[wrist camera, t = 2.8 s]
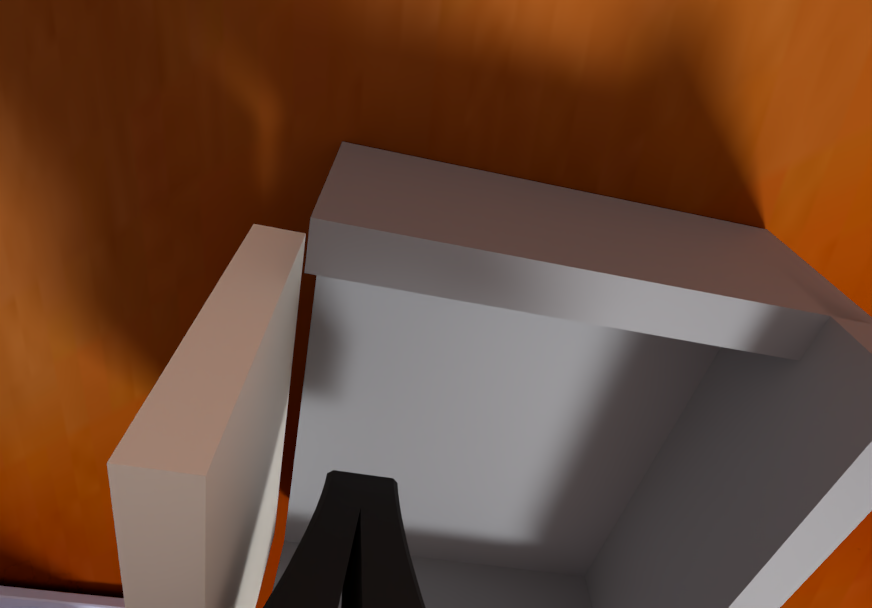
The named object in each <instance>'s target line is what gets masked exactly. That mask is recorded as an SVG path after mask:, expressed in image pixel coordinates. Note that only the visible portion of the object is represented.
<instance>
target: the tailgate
mask: <svg viewBox="0 0 872 608" xmlns="http://www.w3.org/2000/svg"><path fill="white" fill-rule="evenodd" d="M305 238H306V233H301V232H295V231H290V230H285V229H279V228H274V227H268V226H263V225H258V224H253V226H252V227H251V229H250V231H249V232H248V234H247V236H246V237H245V239H244V240H243V242H242V244H241V245H240V247H239V249H238V250H237V252H236V253H235V255H234V257H233V258H232V260H231V262H230V263H229V265H228V266H227V268H226V270H225V271H224V273H223V275H222V276H221V278H220V280H219V281H218V283H217V284H216V286H215V288H214V289H213V291H212V293H211V294H210V296H209V297H208V299H207V301H206V302H205V304H204V306H203V307H202V309H201V310H200V312H199V314H198V315H197V317H196V319H195V320H194V322H193V324H192V325H191V327H190V328H189V330H188V332H187V333H186V335H185V337H184V338H183V340H182V341H181V343H180V345H179V346H178V348H177V350H176V351H175V353H174V354H173V356H172V358H171V359H170V361H169V363H168V364H167V366H166V368H165V369H164V371H163V372H162V374H161V376H160V377H159V379H158V381H157V382H156V384H155V385H154V387H153V389H152V390H151V392H150V394H149V395H148V397H147V398H146V400H145V402H144V403H143V405H142V407H141V408H140V410H139V412H138V413H137V415H136V416H135V418H134V420H133V421H132V423H131V425H130V426H129V428H128V429H127V431H126V433H125V434H124V436H123V438H122V439H121V441H120V442H119V444H118V446H117V447H116V449H115V451H114V452H113V454H112V456H111V457H110V459H109V460H108V462H107V468H108V476H109V484H110V492H111V500H112V508H113V516H114V524H115V532H116V540H117V548H118V556H119V564H120V571H121V579H122V587H123V595H124V603H125V608H255V607H256V603H257V599H258V595H259V591H260V587H261V583H262V579H263V575H264V572H265V568H266V564H267V560H268V556H269V552H270V548H271V544H272V540H273V537H274V532H275V522H276V513H277V503H278V494H279V484H280V475H281V465H282V456H283V446H284V437H285V427H286V418H287V408H288V399H289V389H290V380H291V370H292V361H293V351H294V342H295V332H296V323H297V313H298V304H299V294H300V285H301V276H302V266H303V257H304V247H305Z"/></svg>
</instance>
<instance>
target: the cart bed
mask: <svg viewBox="0 0 872 608" xmlns="http://www.w3.org/2000/svg"><path fill="white" fill-rule="evenodd" d="M304 273H307V274H312V275H317V276H316V285H315V293H314V301H313V309H312V318H311V326H310V334H309V342H308V351H307V359H306V367H305V375H304V384H303V392H302V400H301V408H300V417H299V425H298V433H297V441H296V450H295V458H294V466H293V474H292V482H291V491H290V499H289V507H288V515H287V524H286V532H285V540H284V545H283V549H282V553H281V557H280V562H279V566H278V570H277V574H276V579H275V583H274V587H273V590H274V588H275V587H276V585H277V583H278V582H279V580H280V578H281V577H282V575H283V573H284V571H285V570H286V568H287V566H288V564H289V562H290V560H291V558H292V556H293V554H294V553H295V551H296V549H297V547H298V545H299V543H300V541H301V539H302V537H303V535H304V533H305V531H306V529H307V527H308V525H309V522H310V520H311V518H312V516H313V513H314V511H315V509H316V506H317V504H318V501H319V499H320V496H321V493H322V490H323V487H324V484H325V480H326V476H327V473H329V472H331V471H333V470H337V471H344V472H351V473H358V474H366V475H373V476H380V477H388V478H393V479H394V480H395V481H396V482H397V483H398V495H399V502H400V509H401V515H402V520H403V525H404V530H405V534H406V539H407V543H408V548H409V552H410V556H411V559H412V563H413V567H414V570H415V574H416V577H417V581H418V584H419V588H420V591H421V594H422V598H423V601H424V604H425V607H426V608H780V607H781V606H782V605H783V604H784V603H785V602H786V601H787V599H788V598H789V597H790V596H791V595H792V594H793V593H794V592H795V591H796V590H797V589H798V588H799V587H800V586H801V585H802V584H803V583H804V582H805V580H806V579H807V578H808V577H809V576H810V575H811V574H812V573H813V572H814V571H815V570H816V569H817V568H818V567H819V566H820V565H821V564H822V562H823V561H824V560H825V559H826V558H827V557H828V556H829V555H830V554H831V553H832V552H833V551H834V550H835V549H836V548H837V547H838V546H839V544H840V543H841V542H842V541H843V540H844V539H845V538H846V537H847V536H848V535H849V534H850V533H851V532H852V531H853V530H854V529H855V528H856V526H857V525H858V524H859V523H860V522H861V521H862V520H863V519H864V518H865V517H866V516H867V515H868V514H869V513H870V512H871V511H872V317H870V316H869V315H868V314H867V313H866V312H864V311H863V310H862V309H861V308H860V307H859V306H857V305H856V304H855V303H854V302H853V301H851V300H850V299H849V298H848V297H847V296H845V295H844V294H843V293H842V292H841V291H839V290H838V289H837V288H836V287H835V286H834V285H832V284H831V283H830V282H829V281H828V280H826V279H825V278H824V277H823V276H822V275H820V274H819V273H818V272H817V271H816V270H815V269H813V268H812V267H811V266H810V265H809V264H807V263H806V262H805V261H804V260H803V259H801V258H800V257H799V256H798V255H797V254H795V253H794V252H793V251H792V250H791V249H790V248H788V247H787V246H786V245H785V244H784V243H782V242H781V241H780V240H779V239H778V238H776V237H775V236H774V235H773V234H772V233H770V232H769V231H768V230H767V229H762V228H757V227H752V226H748V225H743V224H738V223H733V222H728V221H724V220H719V219H714V218H709V217H704V216H699V215H695V214H690V213H685V212H680V211H675V210H671V209H666V208H661V207H656V206H651V205H646V204H642V203H637V202H632V201H627V200H622V199H617V198H613V197H608V196H603V195H598V194H593V193H589V192H584V191H579V190H574V189H569V188H564V187H560V186H555V185H550V184H545V183H540V182H536V181H531V180H526V179H521V178H516V177H511V176H507V175H502V174H497V173H492V172H487V171H483V170H478V169H473V168H468V167H463V166H458V165H454V164H449V163H444V162H439V161H434V160H430V159H425V158H420V157H415V156H410V155H405V154H401V153H396V152H391V151H386V150H381V149H376V148H372V147H367V146H362V145H357V144H352V143H348V142H343V141H342V144H341V146H340V148H339V151H338V153H337V156H336V158H335V160H334V163H333V165H332V167H331V170H330V172H329V175H328V177H327V179H326V182H325V184H324V186H323V189H322V191H321V194H320V196H319V198H318V201H317V203H316V205H315V208H314V210H313V213H312V215H311V217H310V226H309V235H308V244H307V254H306V263H305V272H304ZM272 592H273V591H272ZM341 600H342V593H341V597H340V602H339V606H338V608H341Z"/></svg>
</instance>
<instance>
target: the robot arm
mask: <svg viewBox="0 0 872 608" xmlns="http://www.w3.org/2000/svg"><path fill="white" fill-rule="evenodd" d="M341 593H342V600H341V608H426V607H425V604H424V601H423V598H422V594H421V591H420V588H419V584H418V581H417V577H416V574H415V570H414V567H413V563H412V559H411V556H410V552H409V548H408V543H407V539H406V534H405V530H404V525H403V520H402V515H401V509H400V502H399V495H398V483H397V482H396V481H395V480H394V479H393V478H388V477H380V476H373V475H366V474H358V473H351V472H344V471H337V470H333V471H331V472H329V473H327V476H326V480H325V484H324V487H323V490H322V493H321V496H320V499H319V501H318V504H317V506H316V509H315V511H314V513H313V516H312V518H311V520H310V522H309V525H308V527H307V529H306V531H305V533H304V535H303V537H302V539H301V541H300V543H299V545H298V547H297V549H296V551H295V553H294V554H293V556H292V558H291V560H290V562H289V564H288V566H287V568H286V570H285V571H284V573H283V575H282V577H281V578H280V580H279V582H278V583H277V585H276V587H275V588H274V590H273V592H272V594H271V595H270V597H269V599H268V600H267V602H266V604H265V605H264V607H263V608H338V606H339V602H340V597H341ZM0 608H125V603H124V598H117V597H107V596H97V595H87V594H78V593H68V592H58V591H48V590H39V589H29V588H19V587H9V586H0Z"/></svg>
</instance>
